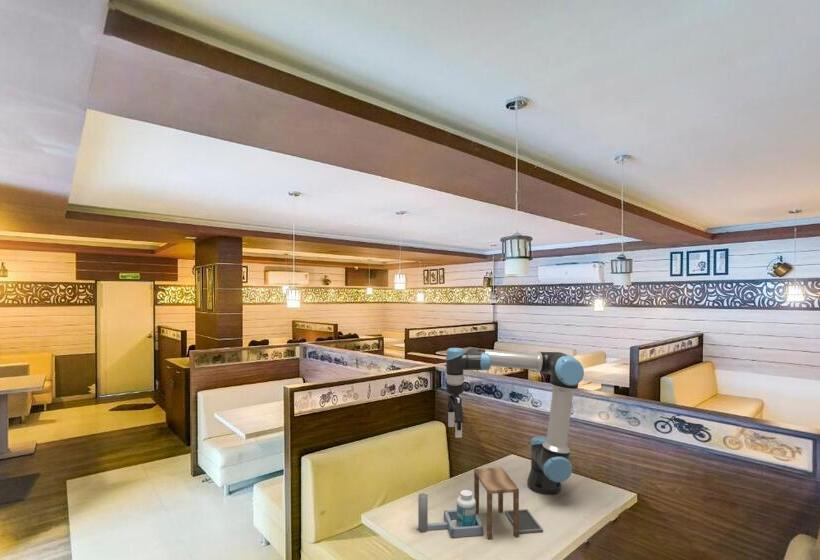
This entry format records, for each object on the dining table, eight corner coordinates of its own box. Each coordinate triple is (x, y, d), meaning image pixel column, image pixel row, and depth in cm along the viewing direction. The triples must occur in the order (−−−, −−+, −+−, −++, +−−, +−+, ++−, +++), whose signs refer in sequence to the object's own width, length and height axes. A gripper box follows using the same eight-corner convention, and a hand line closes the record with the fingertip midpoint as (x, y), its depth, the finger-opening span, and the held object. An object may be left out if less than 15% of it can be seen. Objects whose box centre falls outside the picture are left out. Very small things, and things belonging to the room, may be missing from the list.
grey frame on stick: (473, 515, 173) (473, 484, 173) (483, 535, 159) (483, 500, 159) (415, 520, 169) (416, 487, 170) (421, 539, 156) (421, 504, 156)
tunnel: (501, 510, 177) (501, 467, 177) (518, 537, 158) (518, 488, 158) (474, 512, 175) (474, 469, 176) (488, 539, 157) (488, 490, 157)
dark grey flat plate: (527, 511, 176) (527, 509, 176) (543, 532, 161) (543, 529, 161) (504, 513, 175) (504, 510, 175) (518, 534, 160) (518, 531, 160)
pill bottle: (454, 522, 168) (454, 488, 168) (472, 520, 169) (472, 487, 169) (460, 533, 161) (459, 498, 161) (478, 531, 162) (478, 496, 162)
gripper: (440, 377, 197) (440, 422, 196) (453, 390, 172) (453, 442, 172) (456, 377, 198) (456, 422, 197) (470, 390, 173) (470, 441, 173)
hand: (454, 431), depth 184 cm, fingers open, 13 cm apart
